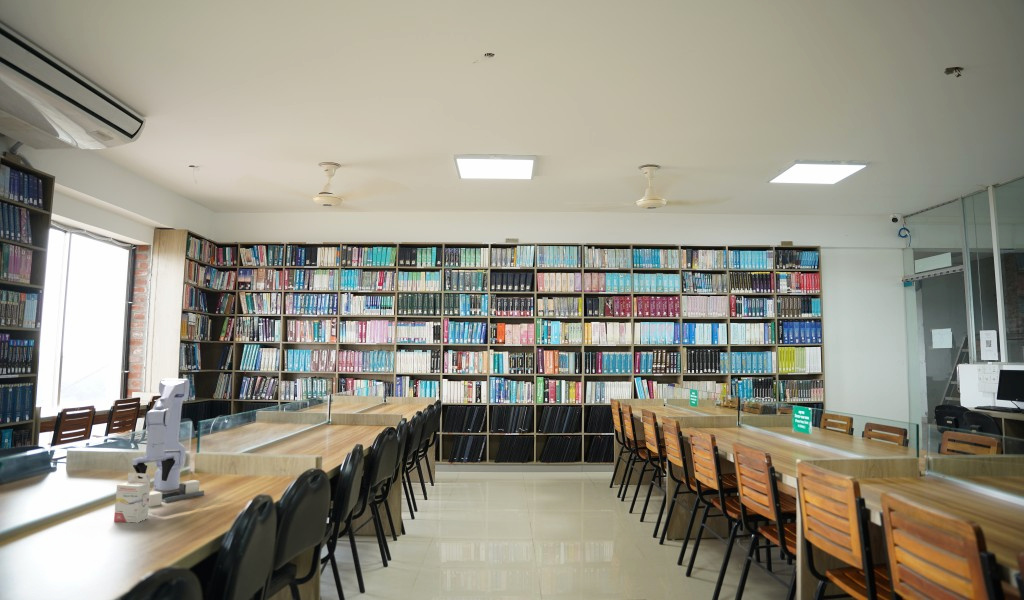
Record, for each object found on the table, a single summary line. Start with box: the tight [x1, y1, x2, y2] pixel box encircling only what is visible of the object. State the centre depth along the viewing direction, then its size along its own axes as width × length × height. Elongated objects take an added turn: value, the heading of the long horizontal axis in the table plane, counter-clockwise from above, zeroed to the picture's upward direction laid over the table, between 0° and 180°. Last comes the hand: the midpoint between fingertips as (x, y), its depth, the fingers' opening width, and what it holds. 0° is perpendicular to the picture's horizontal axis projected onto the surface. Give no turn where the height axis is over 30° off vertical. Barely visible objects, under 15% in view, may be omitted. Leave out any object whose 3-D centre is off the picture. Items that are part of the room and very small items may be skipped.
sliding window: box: [162, 490, 205, 504], centre depth 216 cm, size 9×14×2 cm, turn 149°
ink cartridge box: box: [113, 472, 151, 524], centre depth 190 cm, size 9×5×15 cm, turn 84°
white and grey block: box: [178, 479, 201, 495], centre depth 219 cm, size 4×6×5 cm
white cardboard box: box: [149, 490, 163, 507], centre depth 206 cm, size 4×6×5 cm
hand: (153, 482), depth 206 cm, fingers open, 7 cm apart
